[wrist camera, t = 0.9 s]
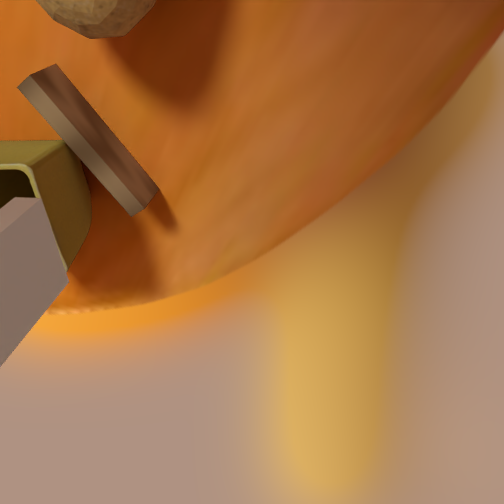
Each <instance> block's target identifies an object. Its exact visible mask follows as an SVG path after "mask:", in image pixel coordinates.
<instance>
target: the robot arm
mask: <svg viewBox="0 0 504 504" xmlns="http://www.w3.org/2000/svg"><path fill="white" fill-rule="evenodd" d="M68 283H69V280H68V277H67V274H66V271H65V268H64V265H63V262H62V259H61V256H60V253H59V250H58V247H57V244H56V241H55V238H54V235H53V232H52V229H51V226H50V223H49V220H48V217H47V214H46V211H45V208H44V205H43V202H42V199H41V198H21V197H15V198H13V199H12V200H11V201H10V202H8V203H7V204H6V205H4V206H3V207H2V208H1V209H0V367H1V366H2V364H3V363H4V362H5V361H6V359H7V358H8V357H9V356H10V354H11V353H12V352H13V351H14V349H15V348H16V347H17V346H18V344H19V343H20V342H21V341H22V339H23V338H24V337H25V336H26V334H27V333H28V332H29V331H30V330H31V328H32V327H33V326H34V325H35V323H36V322H37V321H38V320H39V319H40V317H41V316H42V315H43V314H44V312H45V311H46V310H47V309H48V307H49V306H50V305H51V304H52V302H53V301H54V300H55V299H56V297H57V296H58V295H59V294H60V292H61V291H62V290H63V289H64V288H65V286H66V285H67V284H68Z"/></svg>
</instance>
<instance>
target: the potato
mask: <svg viewBox="0 0 504 504" xmlns="http://www.w3.org/2000/svg"><path fill="white" fill-rule="evenodd" d="M36 1H37V2H38V3H39V4H40V5H41V7H42V8H43V9H44V10H45V11H46V12H47V13H48V14H49V15H50V16H51V18H52V19H53V20H55V21H56V22H58V23H60V24H62V25H64V26H66V27H68V28H70V29H72V30H74V31H76V32H77V33H79V34H81V35H83V36H85V37H87V38H90V39H96V38H107V37H118V36H125V35H126V34H127V33H128V32H129V31H130V30H131V29H132V28H133V27H134V26H135V25H136V24H137V23H138V22H139V21H140V20H141V19H142V18H143V17H144V16H145V15H146V14H147V13H148V12H149V11H150V10H151V9H152V8H153V7H154V4H155V2H156V0H36Z"/></svg>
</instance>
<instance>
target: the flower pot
mask: <svg viewBox="0 0 504 504" xmlns="http://www.w3.org/2000/svg"><path fill="white" fill-rule="evenodd" d="M15 197H21V198H41V199H42V202H43V205H44V208H45V211H46V214H47V217H48V220H49V223H50V226H51V229H52V232H53V235H54V238H55V241H56V244H57V247H58V250H59V253H60V256H61V259H62V262H63V265H64V268H65V271H66V272H67V271H68V269H69V267H70V265H71V264H72V262H73V260H74V258H75V256H76V255H77V253H78V251H79V250H80V248H81V246H82V244H83V242H84V240H85V238H86V236H87V234H88V232H89V228H90V225H91V219H92V203H91V195H90V190H89V187H88V184H87V181H86V178H85V175H84V171H83V168H82V164H81V161H80V158H79V157H78V156H77V155H76V154H75V153H74V151H73V150H72V149H71V148H70V147H69V146H68V145H67V143H66V142H65V141H64V140H37V141H0V209H1V208H2V207H3V206H4V205H6V204H7V203H8V202H10V201H11V200H12V199H13V198H15Z"/></svg>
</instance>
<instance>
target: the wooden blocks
mask: <svg viewBox="0 0 504 504" xmlns="http://www.w3.org/2000/svg"><path fill="white" fill-rule="evenodd" d="M17 88H18V89H19V90H20V91H21V93H22V94H23V95H24V96H25V97H26V98H27V99H28V100H29V102H30V103H31V104H32V105H33V106H34V107H35V108H36V110H37V111H38V112H39V113H40V114H41V115H42V116H43V117H44V119H45V120H46V121H47V122H48V123H49V124H50V125H51V126H52V128H53V129H54V130H55V131H56V132H57V133H58V134H59V136H60V137H61V138H62V139H63V140H64V141H65V142H66V143H67V145H68V146H69V147H70V148H71V149H72V150H73V151H74V153H75V154H76V155H77V156H78V157H79V158H80V159H81V160H82V162H83V163H84V164H85V165H86V166H87V167H88V168H89V170H90V171H91V172H92V173H93V174H94V175H95V176H96V177H97V179H98V180H99V181H100V182H101V183H102V184H103V185H104V187H105V188H106V189H107V190H108V191H109V192H110V193H111V194H112V196H113V197H114V198H115V199H116V200H117V201H118V202H119V204H120V205H121V206H122V207H123V208H124V209H125V210H126V211H127V213H128V214H129V215H130V216H131V217H132V216H133V215H135V214H137V213H138V212H140V211H141V210H143V209H145V207H146V206H147V205H148V203H149V202H150V201H151V199H152V198H153V197H154V195H155V194H156V193H157V191H158V190H159V188H158V187H157V186H156V184H155V183H154V182H153V181H152V179H151V178H150V177H149V176H148V175H147V173H146V172H145V171H144V170H143V169H142V167H141V166H140V165H139V164H138V163H137V161H136V160H135V159H134V158H133V157H132V155H131V154H130V153H129V152H128V151H127V149H126V148H125V147H124V146H123V144H122V143H121V142H120V141H119V140H118V138H117V137H116V136H115V135H114V134H113V132H112V131H111V130H110V129H109V128H108V126H107V125H106V124H105V123H104V122H103V120H102V119H101V118H100V117H99V116H98V114H97V113H96V112H95V111H94V110H93V108H92V107H91V106H90V105H89V103H88V102H87V101H86V100H85V99H84V97H83V96H82V95H81V94H80V93H79V91H78V90H77V89H76V88H75V87H74V85H73V84H72V83H71V82H70V81H69V79H68V78H67V77H66V76H65V75H64V73H63V72H62V71H61V70H60V68H59V67H58V66H57V65H56V64H54V65H52V66H49V67H47V68H45V69H42V70H40V71H38V72H36V73H33V74H31V75H29V76H28V77H27V78H26V79H25V80H24V81H23V82H22V83H21V84H20V85H19V86H18V87H17Z"/></svg>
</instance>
